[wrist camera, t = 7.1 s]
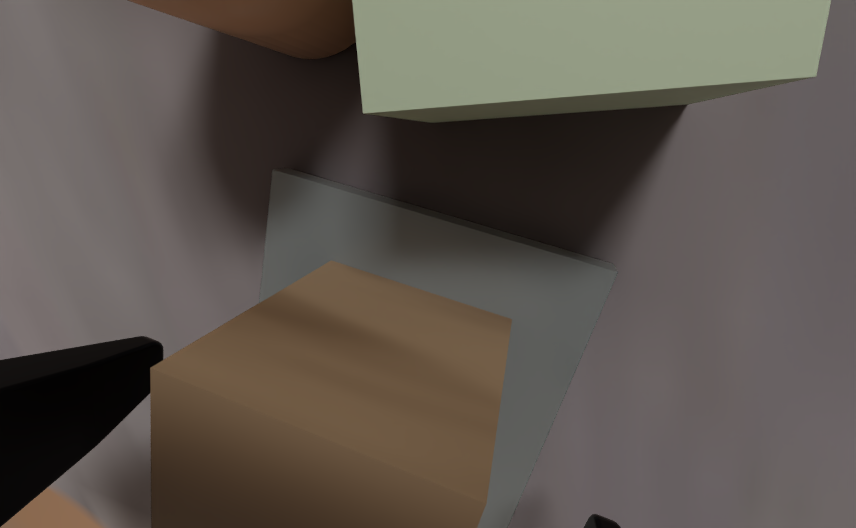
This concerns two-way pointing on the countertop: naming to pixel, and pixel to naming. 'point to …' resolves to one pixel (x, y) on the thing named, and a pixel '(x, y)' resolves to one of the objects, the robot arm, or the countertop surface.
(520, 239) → the slate coaster
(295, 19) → the dome-topped tan cylinder
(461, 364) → the walnut block
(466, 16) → the sage block
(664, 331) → the countertop surface
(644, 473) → the countertop surface
